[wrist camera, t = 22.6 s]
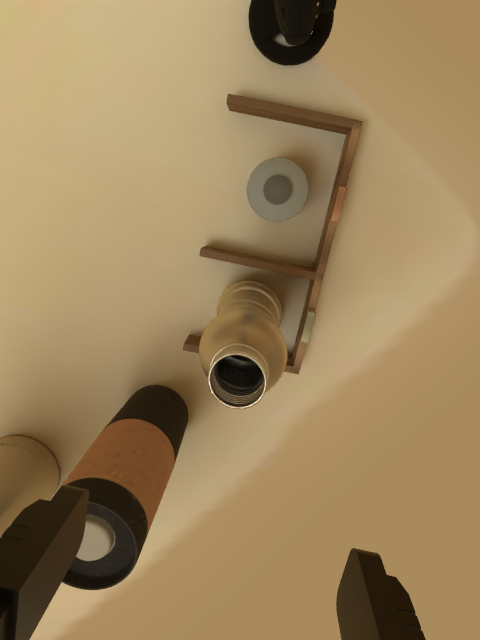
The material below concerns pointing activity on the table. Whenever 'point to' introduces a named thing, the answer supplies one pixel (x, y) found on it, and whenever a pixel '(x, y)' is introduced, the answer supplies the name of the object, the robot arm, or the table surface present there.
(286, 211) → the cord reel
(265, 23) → the webcam
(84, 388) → the table surface
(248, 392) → the plastic bottle
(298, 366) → the slot rack
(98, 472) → the travel mug
